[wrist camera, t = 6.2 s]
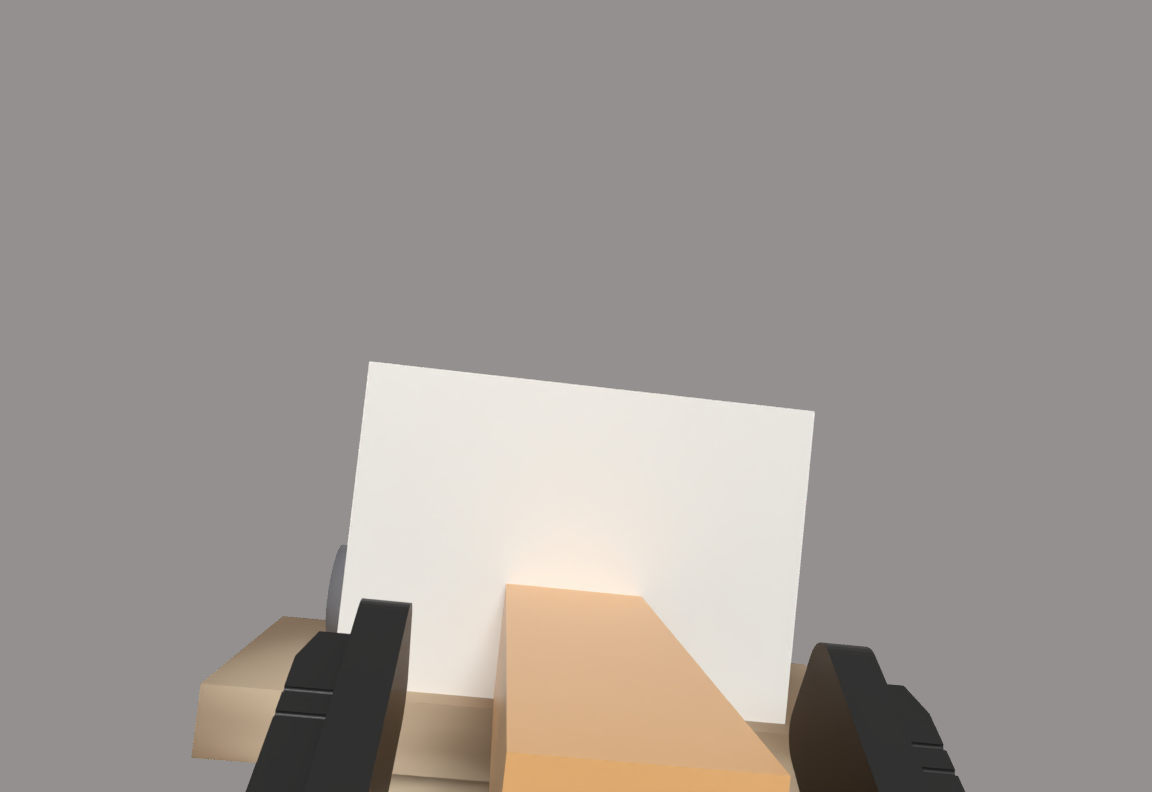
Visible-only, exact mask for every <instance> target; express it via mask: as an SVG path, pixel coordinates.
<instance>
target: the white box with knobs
mask: <svg viewBox="0 0 1152 792" xmlns="http://www.w3.org/2000/svg"><path fill="white" fill-rule="evenodd" d="M814 414H815V411H806V410H797V409H788V408H779V407H770V406H762V405H753V404H744V403H734V402H726V401H717V400H708V399H699V398H690V397H681V396H672V395H663V394H655V393H645V392H637V391H628V390H618V389H610V388H601V387H592V386H583V385H575V384H566V383H557V382H548V381H538V380H530V379H520V378H512V377H503V376H494V375H485V374H477V373H467V372H458V371H449V370H441V369H431V368H423V367H413V366H405V365H395V364H387V363H379V362H369V369H368V378H367V386H366V395H365V404H364V412H363V420H362V429H361V437H360V446H359V453H358V462H357V470H356V480H355V487H354V496H353V504H352V512H351V521H350V529H349V537H348V545H341V546H340V548H339V550H338V553H337V555H336V559H335V562H334V566H333V570H332V574H331V579H330V585H329V591H328V599H327V608H326V632H335V633H346V634H350V633H351V630H352V627H353V623H354V620H355V616H356V613H357V610H358V606H359V603H360V601H361V599H362V598H366V599H377V600H387V601H398V602H408V603H412V624H411V639H410V655H409V670H408V684H407V691H412V692H423V693H435V694H446V695H457V696H469V697H480V698H492V699H493V720H492V742H491V763H490V785H489V792H789V788H790V777H791V776H790V774H789V773H788V772H787V771H786V770H785V768H784V767H783V766H782V765H781V764H780V762H779V761H778V760H777V759H776V758H775V756H774V755H773V754H772V753H771V752H770V750H769V749H768V748H767V747H766V746H765V744H764V743H763V742H762V741H761V740H760V738H759V737H758V736H757V735H756V734H755V732H754V731H753V730H752V729H751V728H750V726H749V725H748V724H747V723H746V722H745V721H754V722H766V723H777V724H785V719H786V708H787V698H788V687H789V677H790V666H791V656H792V645H793V634H794V624H795V613H796V603H797V593H798V582H799V572H800V561H801V551H802V541H803V529H804V519H805V509H806V499H807V488H808V478H809V467H810V457H811V445H812V435H813V425H814Z"/></svg>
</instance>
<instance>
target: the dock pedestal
mask: <svg viewBox="0 0 1152 792" xmlns="http://www.w3.org/2000/svg"><path fill="white" fill-rule="evenodd" d="M319 631H324V632H326V620H318V619H307V618H297V617H285V616H283V617H281V618H280V619H279V620H278V621H277V622H275V623H274V624H273V625H272V626H270V627H269V628H268V629H267V630H266V631H264V632H263V633H262V634H261V635H259V636H258V637H257V638H256V639H255V640H254V641H252V642H251V643H250V644H248V645H247V646H246V647H245V648H244V649H242V650H241V651H240V652H239V653H238V654H236V655H235V656H234V657H233V658H231V659H230V660H229V661H228V662H226V663H225V664H224V665H223V666H222V667H220V668H219V669H218V670H217V671H216V672H214V673H213V674H212V675H211V676H209V677H208V678H207V679H206V680H205V681H203V682H202V683H201V686H200V694H199V702H198V711H197V718H196V726H195V734H194V742H193V750H192V758H202V759H214V760H227V761H240V762H251V763H256V762H257V759H258V757H259V754H260V751H261V748H262V746H263V743H264V740H265V737H266V734H267V732H268V729H269V726H270V723H271V721H272V718H273V716H274V715H275V710H276V707H277V704H278V701H279V699H280V696H281V693H282V692H283V691H284V685H285V682H286V679H287V677H288V674H289V671H290V668H291V666H292V663H293V660H294V657H295V655H296V654H297V653H298V652H299V651H300V650H301V649H302V648H303V647H304V646H305V645H306V644H307V643H308V642H309V641H310V640H311V639H312V638H313V637H314V636H315V635H316V634H317V633H318V632H319ZM806 669H807V666H806V665H804V664H794V663H791V666H790V677H789V687H788V698H787V708H786V719H785V724H777V723H766V722H754V721H745V722H746V723H747V724H748V725H749V726H750V728H751V729H752V730H753V731H754V732H755V734H756V735H757V736H758V737H759V738H760V740H761V741H762V742H763V743H764V744H765V746H766V747H767V748H768V749H769V750H770V752H771V753H772V754H773V755H774V756H775V758H776V759H777V760H778V761H779V762H780V764H781V765H782V766H783V767H784V768H785V770H786V771H787V772H788V773H789V774H790V776H791V777H790V788H789V792H800V791H799V787H798V784H797V780H796V776H795V773H794V769H793V765H792V761H791V757H790V750H789V726H790V719H791V715H792V711H793V708H794V705H795V702H796V699H797V696H798V693H799V690H800V687H801V684H802V681H803V678H804V675H805V672H806ZM492 720H493V699H492V698H480V697H469V696H457V695H446V694H435V693H423V692H412V691H407V694H406V702H405V709H404V715H403V721H402V726H401V732H400V737H399V742H398V747H397V752H396V757H395V762H394V767H393V772H392V777H391V782H390V787H389V792H489V785H490V763H491V742H492Z"/></svg>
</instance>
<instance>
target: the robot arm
mask: <svg viewBox="0 0 1152 792" xmlns="http://www.w3.org/2000/svg"><path fill="white" fill-rule="evenodd" d="M411 624H412V603H408V602H398V601H387V600H377V599H366V598H362V599H361V601H360V603H359V606H358V610H357V613H356V616H355V620H354V623H353V627H352V630H351V633H350V634H346V633H335V632H324V631H319V632H318V633H317V634H316V635H315V636H314V637H313V638H312V639H311V640H310V641H309V642H308V643H307V644H306V645H305V646H304V647H303V648H302V649H301V650H300V651H299V652H298V653H297V654H296V655H295V657H294V660H293V663H292V666H291V668H290V671H289V674H288V677H287V679H286V682H285V685H284V691H283V692H282V693H281V696H280V699H279V701H278V704H277V707H276V710H275V715H274V716H273V718H272V721H271V723H270V726H269V729H268V732H267V734H266V737H265V740H264V743H263V746H262V748H261V751H260V754H259V757H258V759H257V762H256V765H255V768H254V770H253V773H252V776H251V779H250V782H249V784H248V787H247V790H246V792H389V787H390V782H391V777H392V772H393V767H394V762H395V757H396V752H397V747H398V742H399V737H400V732H401V726H402V721H403V715H404V709H405V702H406V694H407V684H408V670H409V655H410V639H411ZM789 750H790V757H791V761H792V765H793V769H794V773H795V776H796V780H797V784H798V787H799V791H800V792H965V791H964V788H963V786H962V784H961V782H960V780H959V777H958V776H955V769H954V766H953V765H952V762H951V760H950V758H949V756H948V753H947V751H945V750H943V742H942V740H941V738H940V736H939V734H938V732H937V729H936V727H935V725H934V723H933V721H932V718H931V716H930V714H929V713H928V712H927V711H926V710H925V709H924V707H923V706H921V704H920V703H919V702H918V701H917V700H916V699H915V698H914V697H913V696H912V694H911V693H910V692H909V691H908V690H907V689H906V688H905V687H904V686H900V685H888V684H887V683H886V681H885V678H884V676H883V674H882V671H881V669H880V667H879V664H878V662H877V660H876V657H875V655H874V653H873V651H872V650H871V649H870V648H868V647H862V646H852V645H841V644H831V643H830V644H829V643H818V644H816V646H815V647H814V649H813V651H812V654H811V657H810V660H809V663H808V666H807V669H806V672H805V675H804V678H803V681H802V684H801V687H800V690H799V693H798V696H797V699H796V702H795V705H794V708H793V711H792V715H791V719H790V726H789Z"/></svg>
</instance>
